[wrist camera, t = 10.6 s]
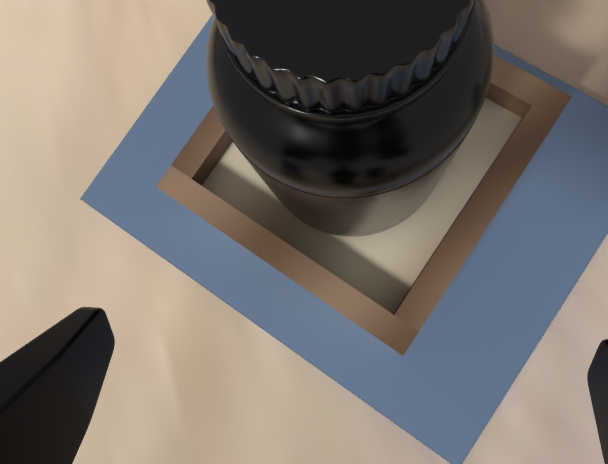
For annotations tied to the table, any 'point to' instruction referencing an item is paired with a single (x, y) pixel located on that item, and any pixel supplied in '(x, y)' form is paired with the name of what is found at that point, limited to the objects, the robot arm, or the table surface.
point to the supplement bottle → (349, 99)
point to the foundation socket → (390, 243)
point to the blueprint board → (451, 307)
